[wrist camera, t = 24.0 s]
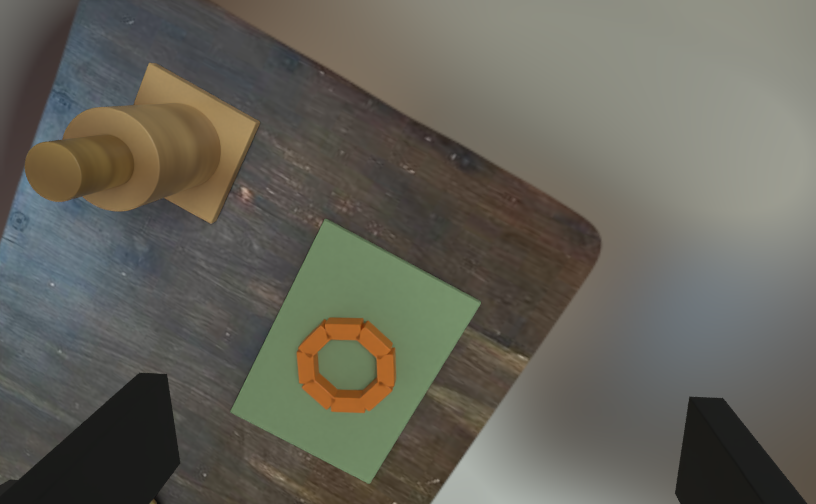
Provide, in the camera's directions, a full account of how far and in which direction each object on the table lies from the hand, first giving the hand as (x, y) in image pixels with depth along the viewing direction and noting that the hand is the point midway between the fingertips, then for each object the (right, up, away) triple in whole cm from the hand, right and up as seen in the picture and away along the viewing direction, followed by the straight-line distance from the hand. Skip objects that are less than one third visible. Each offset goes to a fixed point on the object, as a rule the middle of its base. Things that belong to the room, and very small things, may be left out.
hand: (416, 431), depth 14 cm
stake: (-18, +13, +30) cm, 37 cm away
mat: (-5, -4, +34) cm, 34 cm away
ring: (-5, -5, +33) cm, 33 cm away
